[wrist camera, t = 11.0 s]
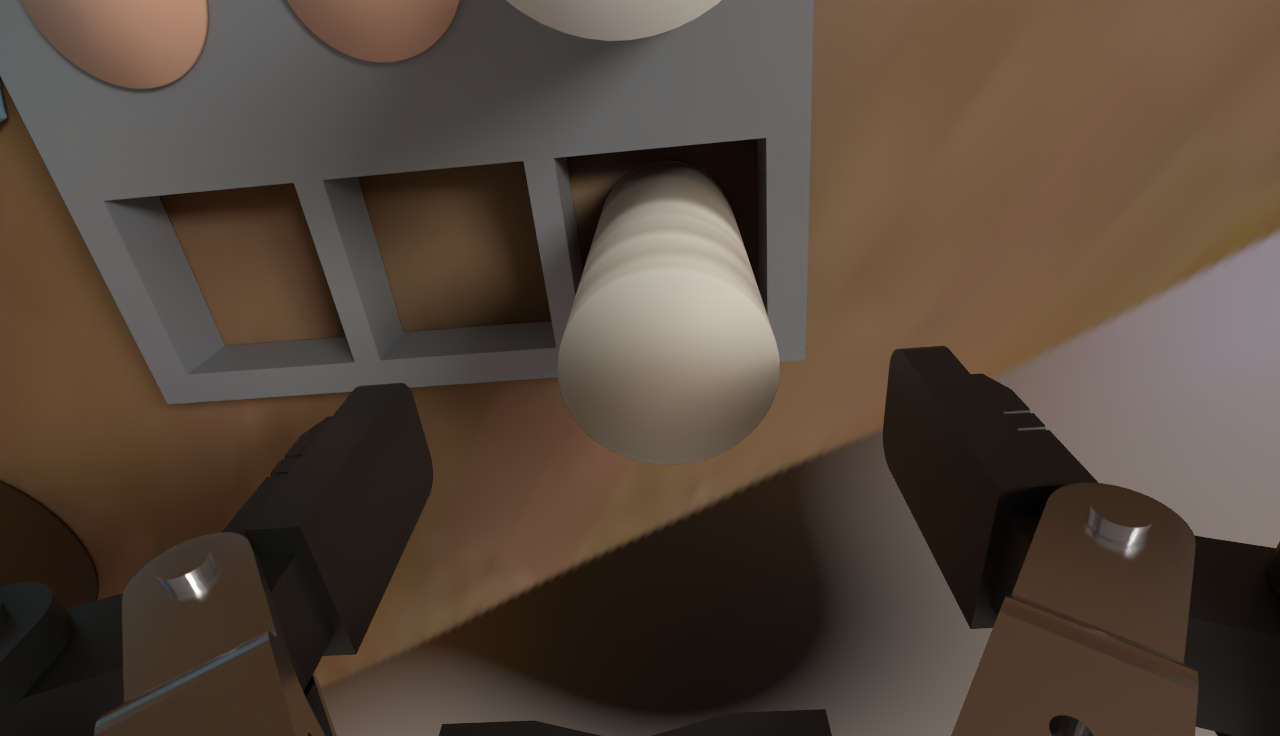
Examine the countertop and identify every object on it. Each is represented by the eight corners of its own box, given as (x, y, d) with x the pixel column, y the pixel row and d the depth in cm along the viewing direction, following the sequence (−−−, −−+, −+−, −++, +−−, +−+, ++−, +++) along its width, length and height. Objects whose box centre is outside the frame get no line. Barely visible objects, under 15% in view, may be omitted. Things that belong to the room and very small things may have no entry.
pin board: (206, 374, 23) (-133, 642, 13) (-36, -146, 16) (-1100, -380, 6) (794, 331, 21) (900, 598, 12) (802, -264, 14) (1074, -806, 5)
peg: (591, 167, 19) (540, 280, 11) (731, 154, 19) (779, 260, 11) (609, 296, 21) (575, 471, 13) (735, 285, 21) (779, 458, 13)
